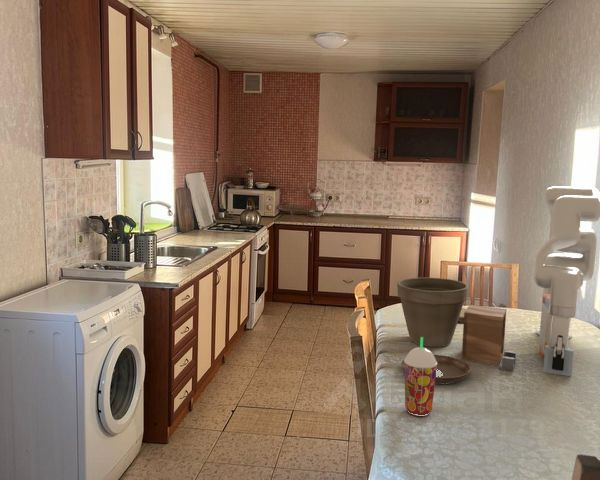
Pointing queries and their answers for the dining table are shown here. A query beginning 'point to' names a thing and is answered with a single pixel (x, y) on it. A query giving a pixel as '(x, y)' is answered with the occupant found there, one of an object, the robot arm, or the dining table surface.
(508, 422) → the dining table surface
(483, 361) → the tan wooden box
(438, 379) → the plant saucer
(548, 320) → the cracker box
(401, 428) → the dining table surface
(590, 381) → the dining table surface
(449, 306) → the plant pot
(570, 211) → the robot arm
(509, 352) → the hinge clips
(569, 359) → the door
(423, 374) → the smoothie
